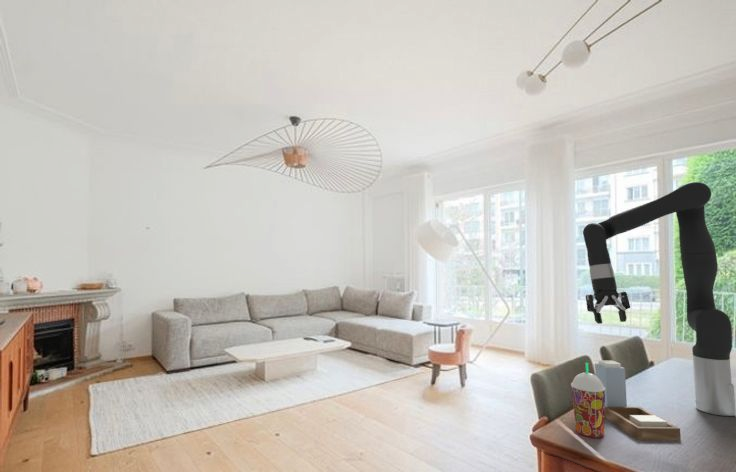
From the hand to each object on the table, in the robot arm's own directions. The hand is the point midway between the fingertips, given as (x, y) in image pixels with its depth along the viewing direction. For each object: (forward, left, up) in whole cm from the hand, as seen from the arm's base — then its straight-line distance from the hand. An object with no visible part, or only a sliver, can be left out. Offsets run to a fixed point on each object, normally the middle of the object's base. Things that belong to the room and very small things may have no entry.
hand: (611, 322), depth 140 cm
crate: (-5, +28, -27) cm, 39 cm away
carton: (+1, +16, -27) cm, 31 cm away
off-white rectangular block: (-7, +31, -26) cm, 41 cm away
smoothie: (+7, +39, -27) cm, 48 cm away
